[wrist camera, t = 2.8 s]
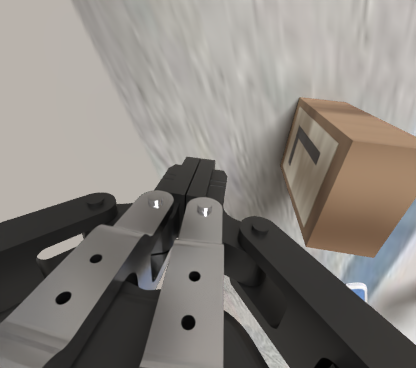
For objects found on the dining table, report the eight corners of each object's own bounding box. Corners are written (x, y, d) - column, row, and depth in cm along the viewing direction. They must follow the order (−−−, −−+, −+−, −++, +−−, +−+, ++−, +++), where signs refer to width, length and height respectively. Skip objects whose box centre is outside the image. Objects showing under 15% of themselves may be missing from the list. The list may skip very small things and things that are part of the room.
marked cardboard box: (298, 97, 17) (350, 140, 9) (345, 102, 17) (447, 152, 8) (279, 165, 20) (304, 246, 12) (319, 171, 20) (373, 257, 12)
